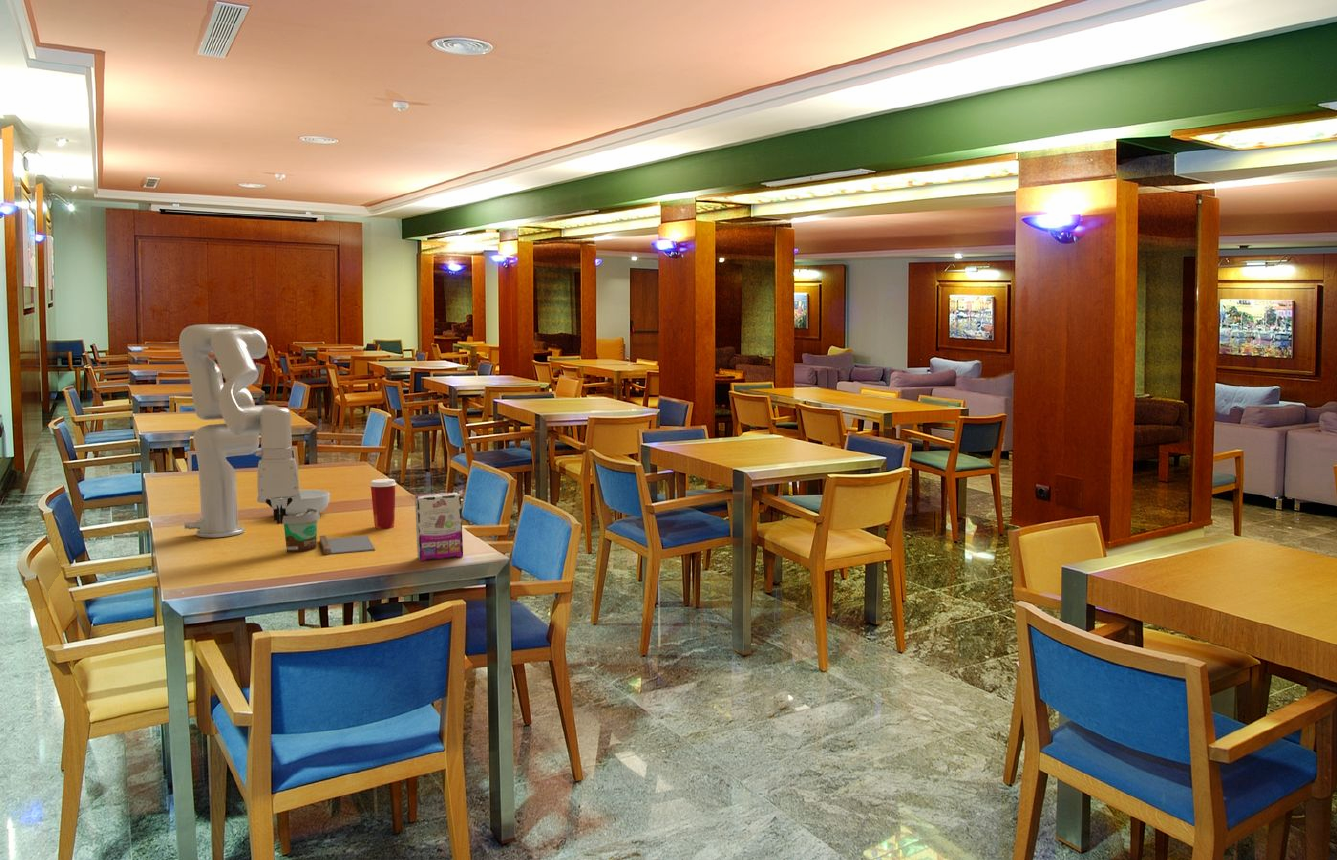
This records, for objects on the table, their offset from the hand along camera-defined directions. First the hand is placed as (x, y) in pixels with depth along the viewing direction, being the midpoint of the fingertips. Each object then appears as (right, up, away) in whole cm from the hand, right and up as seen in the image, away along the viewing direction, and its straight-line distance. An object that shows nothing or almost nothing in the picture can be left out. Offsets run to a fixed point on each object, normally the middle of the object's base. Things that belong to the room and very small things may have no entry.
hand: (280, 522), depth 258 cm
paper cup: (+18, -4, +32) cm, 37 cm away
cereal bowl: (-13, -3, +50) cm, 52 cm away
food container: (+6, -8, +3) cm, 10 cm away
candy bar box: (+44, -9, -7) cm, 45 cm away
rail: (+10, -7, +5) cm, 13 cm away
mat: (+16, -7, +8) cm, 19 cm away
